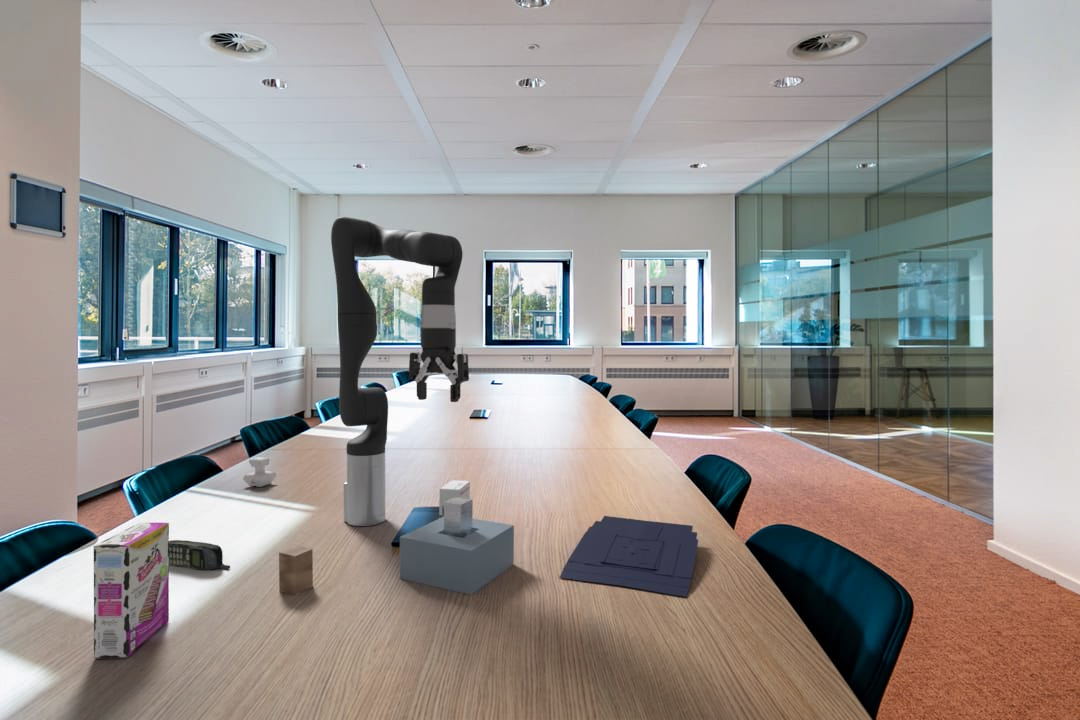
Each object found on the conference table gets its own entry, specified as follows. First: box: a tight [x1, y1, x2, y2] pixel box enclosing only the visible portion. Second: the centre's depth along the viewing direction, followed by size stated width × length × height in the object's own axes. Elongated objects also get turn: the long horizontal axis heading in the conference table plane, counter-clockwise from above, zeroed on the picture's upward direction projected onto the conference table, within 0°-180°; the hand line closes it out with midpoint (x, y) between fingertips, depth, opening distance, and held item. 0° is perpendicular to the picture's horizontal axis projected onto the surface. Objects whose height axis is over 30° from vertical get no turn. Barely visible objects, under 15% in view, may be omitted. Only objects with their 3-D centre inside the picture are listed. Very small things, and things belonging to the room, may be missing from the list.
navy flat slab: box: [558, 515, 699, 598], centre depth 123 cm, size 24×30×4 cm
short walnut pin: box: [278, 545, 314, 596], centre depth 108 cm, size 4×4×7 cm
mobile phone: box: [169, 539, 231, 571], centre depth 118 cm, size 5×3×15 cm
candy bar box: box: [93, 522, 170, 660], centre depth 89 cm, size 11×5×16 cm, turn 5°
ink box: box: [438, 479, 471, 519], centre depth 138 cm, size 9×5×12 cm, turn 168°
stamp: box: [243, 456, 277, 488], centre depth 181 cm, size 9×7×8 cm
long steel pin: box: [444, 497, 474, 538], centre depth 116 cm, size 4×4×14 cm
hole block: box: [399, 517, 515, 596], centre depth 116 cm, size 16×16×8 cm
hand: (438, 400), depth 129 cm, fingers open, 8 cm apart
